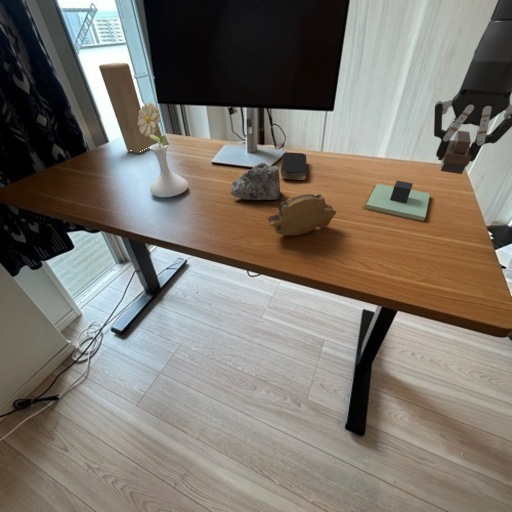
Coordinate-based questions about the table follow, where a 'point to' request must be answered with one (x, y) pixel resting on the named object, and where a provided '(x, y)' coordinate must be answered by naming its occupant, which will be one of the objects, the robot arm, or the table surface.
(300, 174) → the black sponge
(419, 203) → the tray
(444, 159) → the brown stepped block
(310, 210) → the wooden carving
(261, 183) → the mineral rock
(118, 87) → the decorative block
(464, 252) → the table surface
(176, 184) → the flower in vase
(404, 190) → the charcoal matte cube
